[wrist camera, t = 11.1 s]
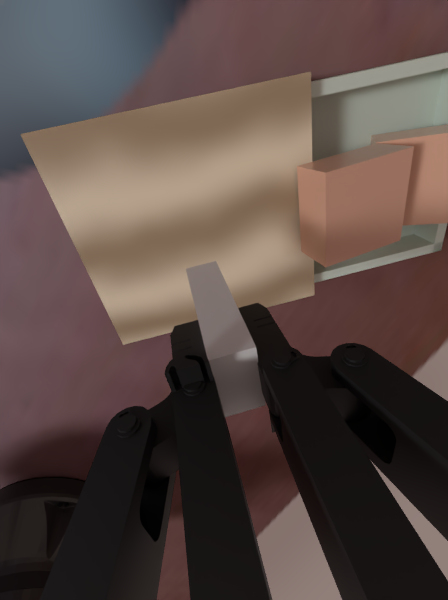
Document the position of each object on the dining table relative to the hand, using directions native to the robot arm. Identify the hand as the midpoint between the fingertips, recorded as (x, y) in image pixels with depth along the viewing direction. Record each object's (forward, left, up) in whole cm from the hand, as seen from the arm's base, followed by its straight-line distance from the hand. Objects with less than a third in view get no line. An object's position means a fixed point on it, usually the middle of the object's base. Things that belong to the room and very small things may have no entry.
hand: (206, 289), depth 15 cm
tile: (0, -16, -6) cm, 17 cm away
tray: (0, -15, -11) cm, 18 cm away
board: (0, -1, -11) cm, 11 cm away
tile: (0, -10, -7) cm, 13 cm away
